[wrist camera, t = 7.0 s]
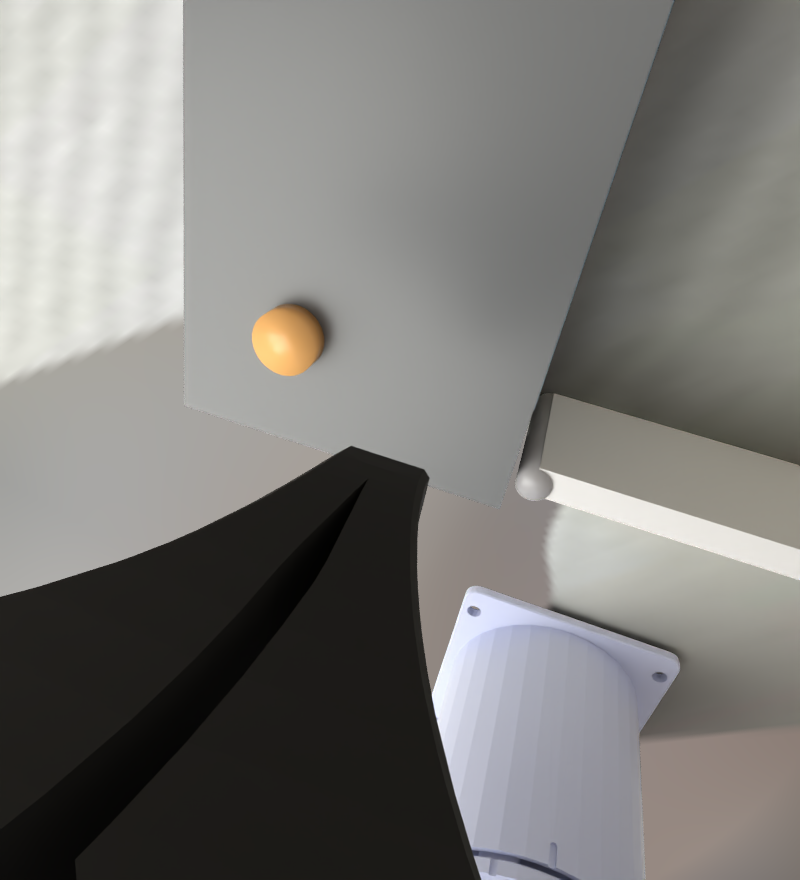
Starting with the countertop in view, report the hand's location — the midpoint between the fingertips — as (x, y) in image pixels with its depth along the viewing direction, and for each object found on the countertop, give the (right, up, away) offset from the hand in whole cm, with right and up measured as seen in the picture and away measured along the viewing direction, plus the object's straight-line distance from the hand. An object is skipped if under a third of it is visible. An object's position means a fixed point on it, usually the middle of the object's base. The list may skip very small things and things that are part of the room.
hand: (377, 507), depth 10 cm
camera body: (+1, +9, +7) cm, 11 cm away
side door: (+10, 0, +9) cm, 13 cm away
